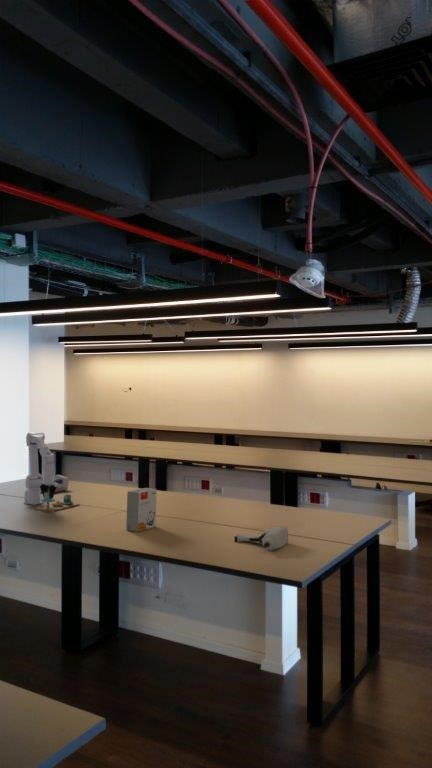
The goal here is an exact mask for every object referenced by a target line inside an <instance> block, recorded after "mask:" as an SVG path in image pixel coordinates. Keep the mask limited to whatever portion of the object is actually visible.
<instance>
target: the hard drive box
mask: <svg viewBox="0 0 432 768" xmlns="http://www.w3.org/2000/svg"><path fill="white" fill-rule="evenodd" d="M156 522H157V488H149V487H143V488H138V489H135V490H134V489H133V490H128V491H127V494H126V525H125V526H126V529H125V530H126V531H130V532H135V533H139V532H143V531H146V530H149V529H152V528H155V527H156V524H157V523H156Z"/></svg>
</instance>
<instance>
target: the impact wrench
mask: <svg viewBox="0 0 432 768" xmlns="http://www.w3.org/2000/svg"><path fill="white" fill-rule="evenodd" d="M234 542H235V543H236V542H237V543H240V542H241V543H242V542H257V543H260V544H261V545H262V546H263V548H264V549H266V550H267V551H270V552H271V551H275V550H278V549H280V548H282V547H284V546H285V545H287V544H288V542H289V531H288V527H287V526H276V527H275V526H274V527H269V528H268V529H266V530H265V531H264V532H262V533H261V534H256V535H255V534H253V535H252V534H245V533H237V535H234Z"/></svg>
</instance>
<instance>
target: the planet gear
mask: <svg viewBox="0 0 432 768" xmlns="http://www.w3.org/2000/svg"><path fill="white" fill-rule="evenodd" d="M41 502H44V503H47V502H49V503H53V502H56V499H55V498H54V497H53V498H51V499H50V498H49V492H44V497H43V498H41Z"/></svg>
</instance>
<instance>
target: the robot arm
mask: <svg viewBox="0 0 432 768" xmlns="http://www.w3.org/2000/svg"><path fill="white" fill-rule="evenodd" d="M25 439H26V441H25V442H26V446H27V447H28V448H29V466H30V467H29V468H30V469H29V470H30V473H29V474H28V475H26V476H25V487H26V489H25V492H24V502H23V504H27V505H33V506H34V505H40V504H43V503H45V502H41V499H42V497H43V498H44V492H47V491H48V490H49V498H50V499H51V498H54V495H55V493H54V492H55V490H56V488H57V487H58V484H59V483H56V482H53V481H54V477H55V476H54V472H55V471H54V470H55V469H54V465H55V463H56V454H55V453H52V452H51V450H50V448H49V446H46V443H45V439H46V436H45V433H44V432H43V431H41V432H27V434H26V437H25ZM38 448H39V450H38ZM38 451H39V453H40V456H41V462H42V468H43V475H42V474H41V473H40V472H39V469H40V468H39V453H38ZM49 484H50V485H49ZM41 490H42V492H41ZM41 493H42V497H41Z"/></svg>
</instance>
